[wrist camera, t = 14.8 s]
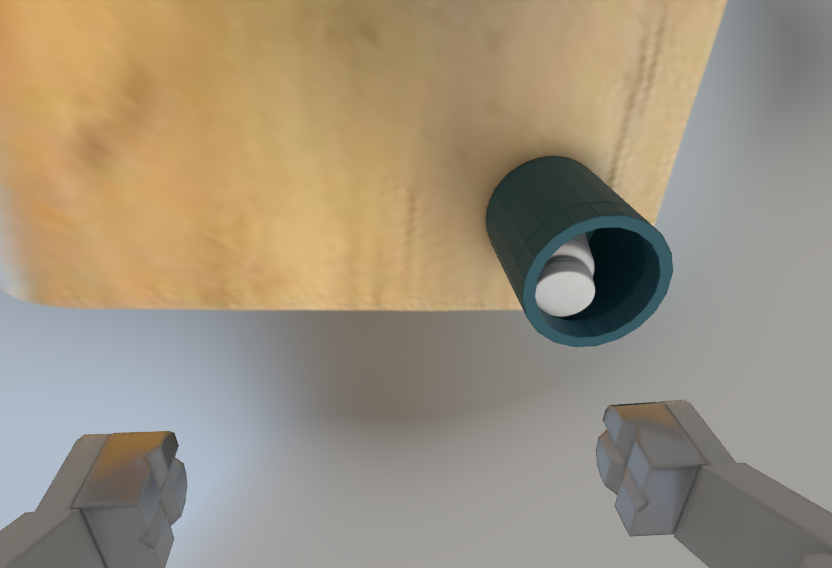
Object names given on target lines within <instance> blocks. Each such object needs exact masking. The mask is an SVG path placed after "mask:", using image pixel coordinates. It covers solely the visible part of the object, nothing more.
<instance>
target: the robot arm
mask: <svg viewBox="0 0 832 568" xmlns="http://www.w3.org/2000/svg"><path fill="white" fill-rule="evenodd" d="M603 422H604V424H605V426H606V428H607V430H606V431H605V432H604V433H603V434H601V435H600V436H599V437H598V442H597V447H596V457H597V466H598V469H599V473H600V476H601V478H602V480H603V482H604V484H605V486H606V487H607V488H609V489H610V490H611V491H613V492H614V493H615V494H617V499H616V502H615V508H616V510H617V512H618V514H619V516H620V518H621V520H622V522H623V524H624V526H625V528H626V530H627V532H628V534H629V536H647V535H667V534H674V537H675V538H676V539H677V540H678V541H679V542H681V543H682V544H683V545H684V546H685V547H686V548H687V549H688V550H690V551H691V552H692V553H693V554H694V555H695V556H697V557H698V558H699V559H700V560H701V561H702V562H703V563H705V564H706V565H707V566H708V567H709V568H832V513H830V512H829V511H827V510H825V509H823V508H822V507H820V506H818V505H817V504H815V503H813V502H811V501H810V500H808V499H806V498H804V497H803V496H801V495H799V494H798V493H796V492H794V491H792V490H791V489H789V488H787V487H785V486H784V485H782V484H780V483H779V482H777V481H775V480H773V479H772V478H770V477H768V476H766V475H765V474H763V473H761V472H760V471H758V470H756V469H754V468H752V467H751V466H749V465H747V464H746V463H736V462H735V460H734V459H733V458H732V456H731V455H730V454H729V452H728V451H727V450H726V449H725V447H724V446H723V445H722V443H721V442H720V441H719V439H718V438H717V437H716V436H715V434H714V433H713V432H712V430H711V429H710V428H709V427H708V425H707V424H706V423H705V421H704V420H703V419H702V418H701V416H700V415H699V413H698V412H697V411H696V410H695V408H694V407H693V406H692V405H691V403H689V402H687V401H686V400H676V401H662V402H650V403H635V404H619V405H609V406H608V408H607V409H606V410H605V414H604V417H603ZM177 449H178V442H177V440H176V436H175V433H173V432H170V431H159V432H130V433H113V434H88V435H83V436H82V437H81V438H79V439H78V440H77V441H76V442H75V444H74V445H73V447H72V449H71V451H70V452H69V454H68V456H67V457H66V459H65V461H64V463H63V464H62V466H61V468H60V469H59V471H58V473H57V475H56V476H55V478H54V480H53V481H52V483H51V485H50V486H49V488H48V490H47V492H46V493H45V495H44V497H43V499H42V500H41V502H40V504H39V505H38V507H37V509H36V510H35V512H27V513H24V514H23V515H21V516H20V517H19V518H17V519H16V520H15V521H13V522H12V523H11V524H9V525H8V526H6V527H5V528H4V529H2V530H1V531H0V568H165V566H166V563H167V560H168V557H169V554H170V550H171V547H172V544H173V541H174V536H173V533H172V530H171V527H170V526H171V525H172V524H174V523H175V522H176V521H177V520H178V519H179V518H180V517H181V515H182V512H183V509H184V505H185V501H186V492H187V478H186V471H185V467H184V463H182V462H181V461H180V460H178V459H176V458H175V455H176V452H177Z"/></svg>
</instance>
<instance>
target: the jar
mask: <svg viewBox="0 0 832 568" xmlns="http://www.w3.org/2000/svg"><path fill="white" fill-rule="evenodd" d="M486 226H487V232H488V235H489V238H490V241H491V244H492V246H493V248H494V250H495V252H496V254H497V257H498V259H499V261H500V263H501V265H502V267H503V269H504V271H505V273H506V275H507V277H508V279H509V281H510V283H511V285H512V288H513V290H514V292H515V294H516V296H517V298H518V300H519V302H520V304H521V306H522V308H523V310H524V312H525V314H526V316H527V318H528V320H529V321H530V322H531V324H532V325H533V326H534V328H535V329H536V330H537V332H539V333H540V334H542V335H543V336H545V337H546V338H548V339H550V340H551V341H553V342H556V343H560V344H564V345H568V346H573V347H574V346H575V347H585V346H597V345H601V344H604V343H607V342H611V341H614V340H617V339H619V338H621V337H623V336H625V335H626V334H628V333H630V332H631V331H633V330H635V329H637V327H639V326H641V325H642V323H644V322H645V321H646V320H647V319H648V318H649V317H650V316H651V315H652V314H653V313H654V311H656V310H657V308H658V306H659V305H660V303H661V302H662V300H663V299H664V297H665V295H666V294H667V293H666V292H667V291H668V287H669V284H670V280H671V277H672V272H673V266H672V253H671V251H670V249H669V247H668V245H667V243H666V241H665V239H664V237H663V235H662V234H661V233H660V232H659V231H658V230H657V229H656V228H655V227H653V226H652V225H651V224H650V223H649V222H648V221H647V220H646V219H644V218H643V217H642V216H641V215H640V214H639V213H638V212H637V211H635V210H634V209H633V208H632V207H631V206H630V205H629V204H628V203H626V202H625V201H624V200H623V199H622V198H621V197H620V196H619V195H618V194H616V193H615V192H614V191H613V190H612V189H611V188H610V187H609V186H607V185H606V184H605V183H604V182H603V181H602V180H601V179H600V178H598V177H597V176H596V175H595V174H594V173H593V172H591V171H590V170H589V169H588V168H587V167H585V166H584V165H582V164H581V163H579V162H577V161H575V160H572V159H569V158H565V157H555V156H551V157H543V158H538V159H534V160H532V161H529V162H527V163H524V164H522V165H520V166H519V167H517V168H516V169H514V170H513V171H512V172H510V173H509V174H508V175H507V176H506V177H505V178H504V179H503V180H502V181H501V182H500V184H499V185H498V186H497V188H496V189H495V191H494V193H493V194H492V197H491V199H490V201H489V205H488V208H487V214H486ZM583 233H585V234H586V238H587V241H588V244H589V247H590V250H591V254H592V257H593V260H594V274H593V277H592V278H593V282H594V286H595V295H594V298H593V300H592V302H591V303H590V304H589V305H588V306H587V307H586V308H585V309H583V310H582V311H580V312H578V313H576V314H573V315H569V316H562V317H558V316H551V315H549V314H547V313H546V312H544V311H543V310H541V309H540V308H539V307H538V306H537V302H536V298H535V293H536V286H537V279H538V277H539V275H540V273H541V271H542V269H543V267H544V265H545V263H546V262H547V261H548V260H549V258H550V257H551V256H552V255H553V254H554V253H555V252H556V251H557V250H558V249H559V248H560V247H561V246H562V245H564V244H565V243H567V242H569V241H570V240H572V239H573V238H575V237H576V236H578V235H580V234H583Z"/></svg>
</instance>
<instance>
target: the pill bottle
mask: <svg viewBox="0 0 832 568" xmlns="http://www.w3.org/2000/svg"><path fill="white" fill-rule="evenodd" d="M593 274H594V260H593V257H592V254H591V250H590V247H589V244H588V241H587V238H586V234H585V233H583V234H580V235H578V236H576V237H575V238H573V239H572V240H570V241H569V242H567V243H565V244H564V245H562V246H561V247H560V248H559V249H558V250H557V251H556V252H555V253H554V254H553V255H552V256H551V257H550V258H549V260H548V261H547V262H546V263H545V265H544V267H543V269H542V271H541V273H540V275H539V277H538V279H537V286H536V293H535V298H536V302H537V306H538V307H539V308H540V309H541V310H543V311H544V312H546V313H547V314H549V315H551V316H558V317H562V316H569V315H573V314H576V313H578V312H580V311H582V310H583V309H585V308H586V307H587V306H588V305H589V304H590V303H591V302H592V300H593V298H594V295H595V286H594V282H593V278H592V277H593Z"/></svg>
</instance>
